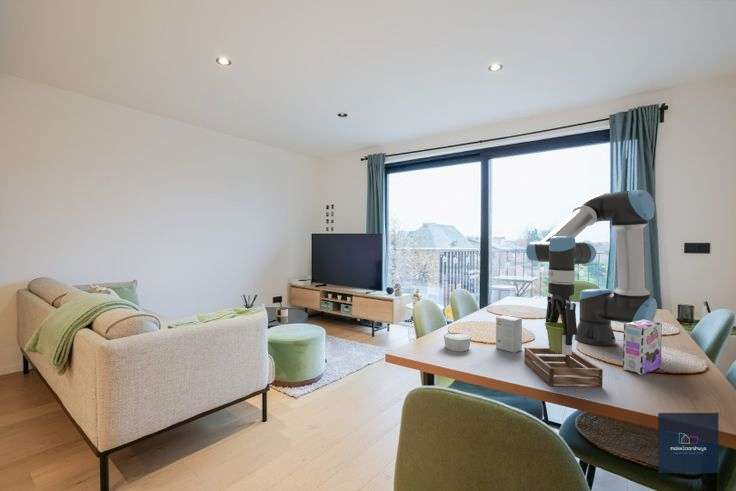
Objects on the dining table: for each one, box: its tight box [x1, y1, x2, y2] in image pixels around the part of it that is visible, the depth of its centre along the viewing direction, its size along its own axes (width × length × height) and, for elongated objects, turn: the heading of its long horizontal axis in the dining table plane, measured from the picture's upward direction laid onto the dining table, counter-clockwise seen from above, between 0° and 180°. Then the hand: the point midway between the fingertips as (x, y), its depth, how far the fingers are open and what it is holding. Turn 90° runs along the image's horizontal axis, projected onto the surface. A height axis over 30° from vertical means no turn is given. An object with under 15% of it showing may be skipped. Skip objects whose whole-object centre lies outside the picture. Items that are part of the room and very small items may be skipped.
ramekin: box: [443, 332, 472, 353], centre depth 140 cm, size 11×11×5 cm
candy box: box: [622, 319, 663, 376], centre depth 118 cm, size 14×6×16 cm, turn 117°
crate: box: [523, 347, 604, 389], centre depth 113 cm, size 16×20×6 cm
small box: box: [495, 314, 523, 353], centre depth 139 cm, size 8×6×13 cm
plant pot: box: [543, 321, 574, 353], centre depth 113 cm, size 9×9×9 cm
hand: (559, 349), depth 113 cm, fingers closed on plant pot, 8 cm apart
